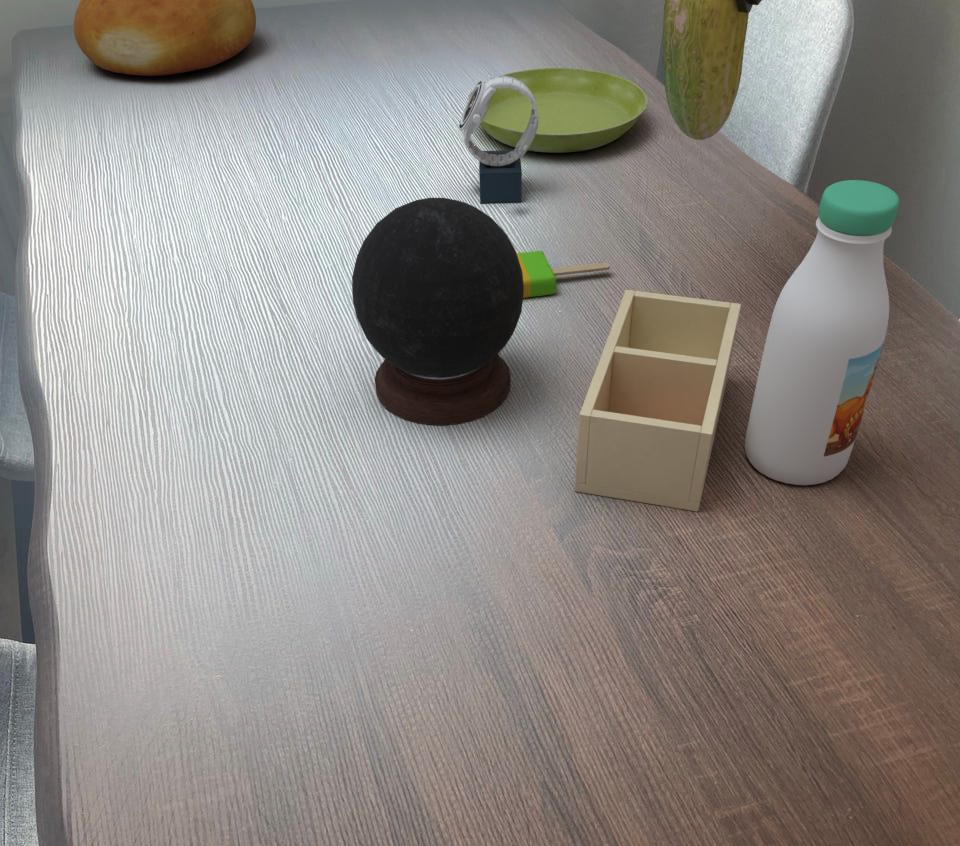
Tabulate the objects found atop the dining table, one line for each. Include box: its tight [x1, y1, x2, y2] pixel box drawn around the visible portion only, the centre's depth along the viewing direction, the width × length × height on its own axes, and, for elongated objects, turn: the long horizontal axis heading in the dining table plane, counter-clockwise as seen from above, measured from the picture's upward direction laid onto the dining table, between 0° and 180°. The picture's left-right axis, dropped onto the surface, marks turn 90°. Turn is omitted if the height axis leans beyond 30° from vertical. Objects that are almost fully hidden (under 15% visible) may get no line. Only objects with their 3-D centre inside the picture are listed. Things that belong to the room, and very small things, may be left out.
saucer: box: [466, 67, 648, 154], centre depth 119 cm, size 21×21×3 cm
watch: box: [458, 75, 539, 204], centre depth 105 cm, size 6×8×11 cm
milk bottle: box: [744, 179, 900, 486], centre depth 70 cm, size 8×8×20 cm
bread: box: [73, 0, 257, 77], centre depth 135 cm, size 23×23×10 cm
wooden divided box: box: [574, 289, 742, 513], centre depth 77 cm, size 9×17×7 cm, turn 164°
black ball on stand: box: [351, 197, 524, 426], centre depth 79 cm, size 13×13×15 cm
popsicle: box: [516, 250, 611, 299], centre depth 95 cm, size 6×15×2 cm, turn 101°
